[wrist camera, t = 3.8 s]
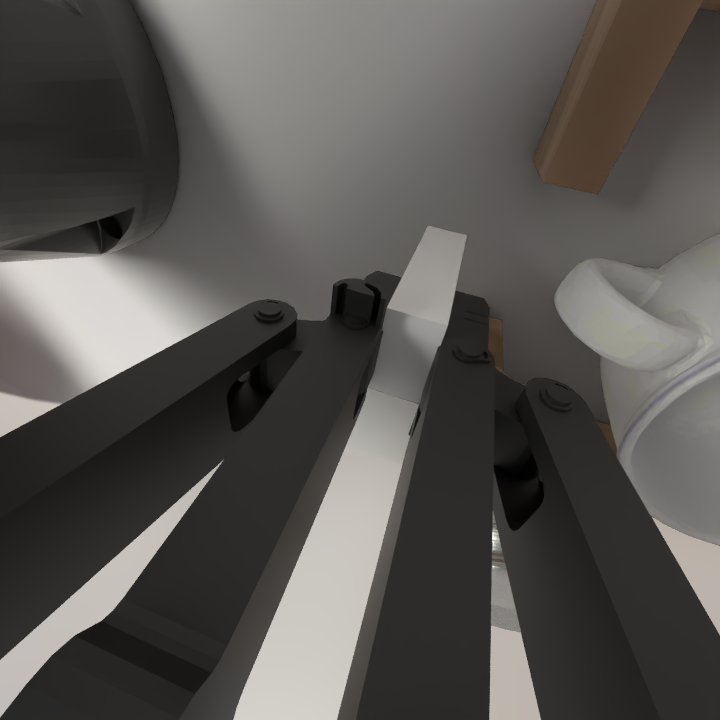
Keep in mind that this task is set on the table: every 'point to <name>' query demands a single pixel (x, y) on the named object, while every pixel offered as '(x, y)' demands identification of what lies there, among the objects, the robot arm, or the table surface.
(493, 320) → the wooden u-shaped bracket
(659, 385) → the teacup
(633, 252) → the table surface
